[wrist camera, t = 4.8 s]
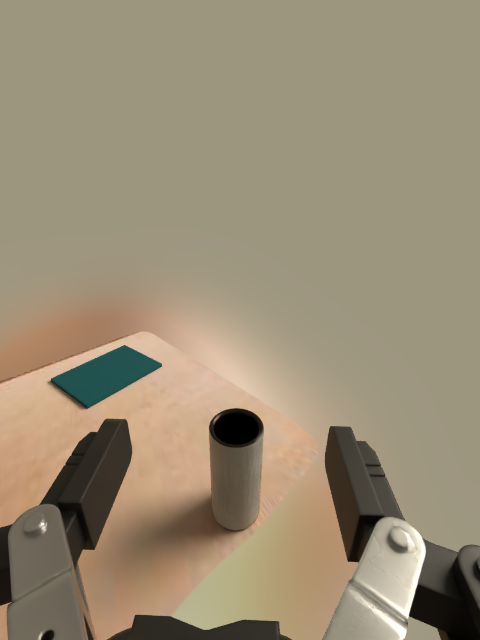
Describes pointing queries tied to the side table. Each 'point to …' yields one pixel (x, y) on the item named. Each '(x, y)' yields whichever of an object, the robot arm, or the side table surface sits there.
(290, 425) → the side table surface
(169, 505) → the side table surface
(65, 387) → the towel
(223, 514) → the planter
